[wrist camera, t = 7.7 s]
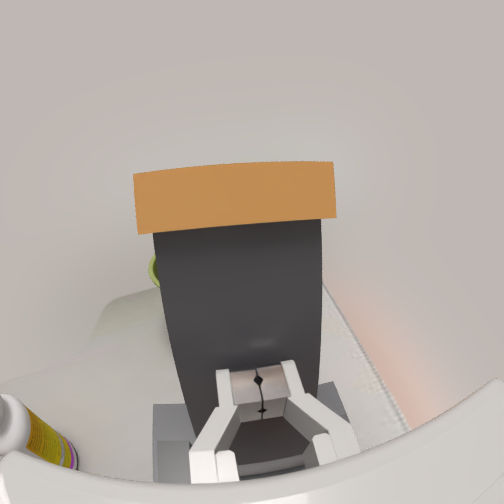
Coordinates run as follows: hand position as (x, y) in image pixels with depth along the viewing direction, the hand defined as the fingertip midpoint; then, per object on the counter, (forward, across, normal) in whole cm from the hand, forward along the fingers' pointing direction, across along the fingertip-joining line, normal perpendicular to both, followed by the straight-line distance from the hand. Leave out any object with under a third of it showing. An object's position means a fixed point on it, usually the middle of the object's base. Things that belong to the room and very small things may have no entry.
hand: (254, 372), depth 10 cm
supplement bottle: (-1, +22, +18) cm, 29 cm away
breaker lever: (-2, 0, +8) cm, 8 cm away
